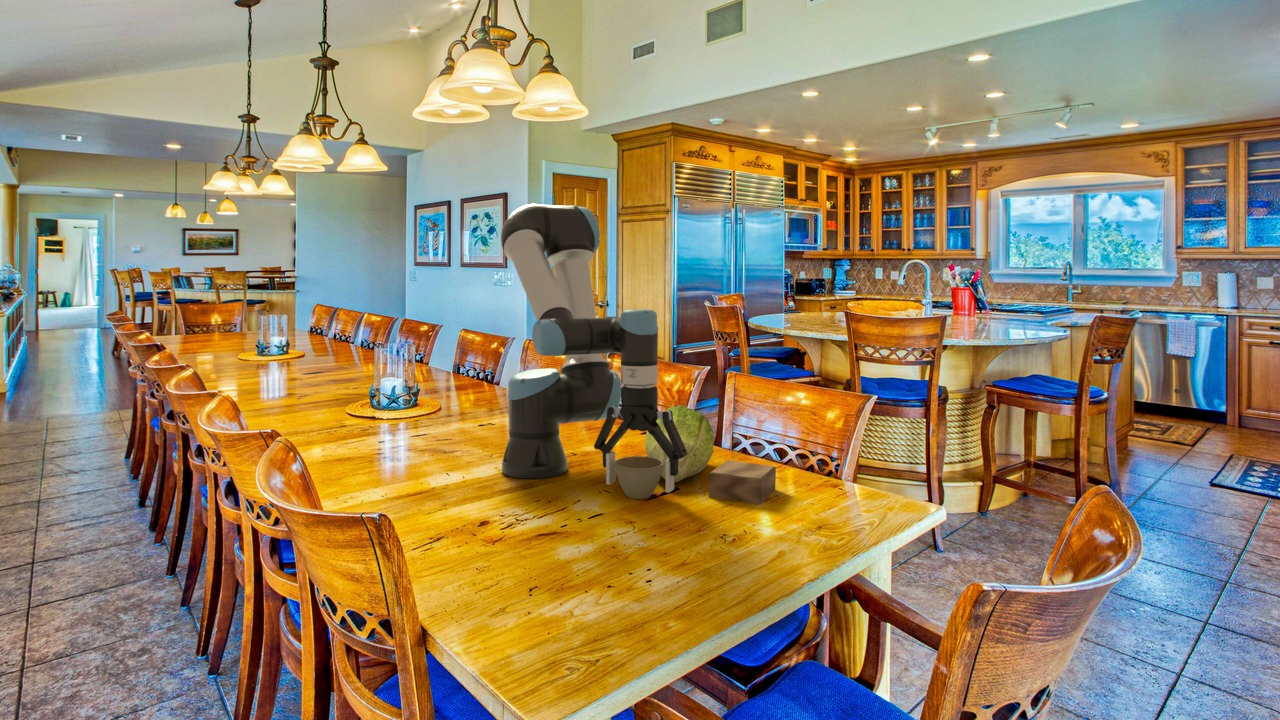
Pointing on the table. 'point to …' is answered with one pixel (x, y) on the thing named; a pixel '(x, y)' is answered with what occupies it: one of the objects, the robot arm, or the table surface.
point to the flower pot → (638, 475)
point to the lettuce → (685, 442)
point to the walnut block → (742, 482)
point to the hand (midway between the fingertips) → (639, 486)
